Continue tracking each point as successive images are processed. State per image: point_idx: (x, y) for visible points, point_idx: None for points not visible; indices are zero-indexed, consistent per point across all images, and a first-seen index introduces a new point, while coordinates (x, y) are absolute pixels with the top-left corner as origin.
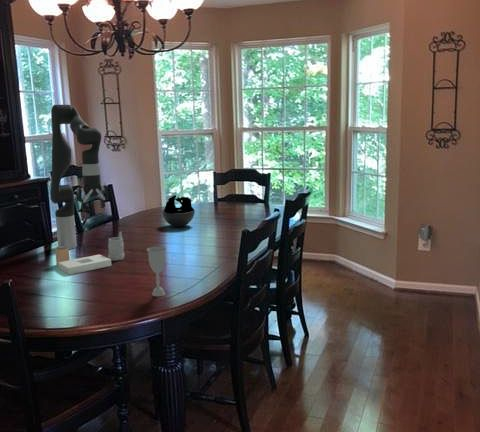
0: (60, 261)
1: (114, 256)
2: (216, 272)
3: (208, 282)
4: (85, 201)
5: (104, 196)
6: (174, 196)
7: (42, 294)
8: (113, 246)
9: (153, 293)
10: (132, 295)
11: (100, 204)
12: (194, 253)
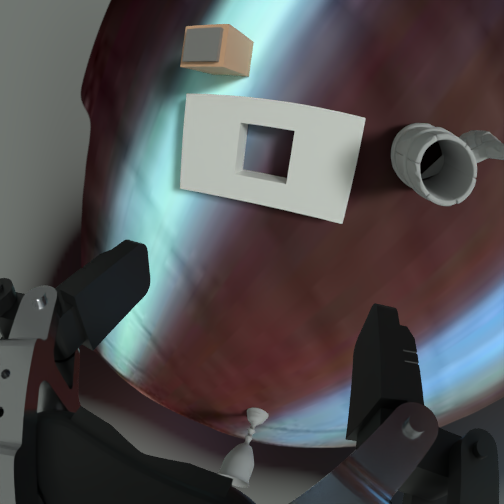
0: (206, 72)
1: (398, 176)
2: None
3: None
4: (77, 360)
5: (404, 486)
6: None
7: None
8: (408, 182)
9: (247, 413)
10: (224, 390)
11: (378, 331)
12: None
